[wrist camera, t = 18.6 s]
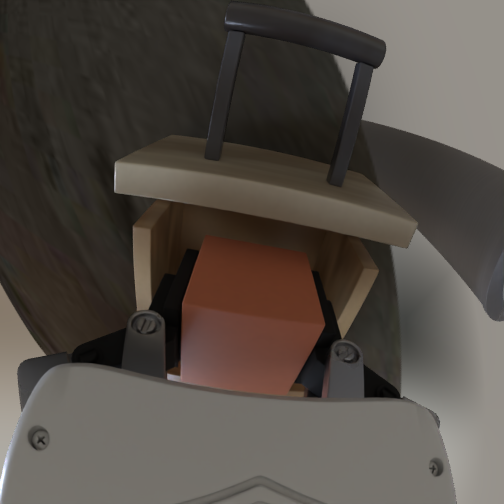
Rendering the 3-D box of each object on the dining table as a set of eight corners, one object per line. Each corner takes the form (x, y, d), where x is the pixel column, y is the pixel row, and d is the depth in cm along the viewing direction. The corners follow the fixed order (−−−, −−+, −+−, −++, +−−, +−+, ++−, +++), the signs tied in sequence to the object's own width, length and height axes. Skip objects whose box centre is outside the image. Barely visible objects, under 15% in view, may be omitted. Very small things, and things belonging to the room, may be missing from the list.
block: (196, 310, 14) (180, 381, 10) (205, 234, 12) (181, 303, 8) (281, 323, 14) (286, 395, 10) (306, 252, 12) (325, 324, 8)
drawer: (191, 26, 11) (145, -18, 5) (389, 72, 12) (464, 66, 6) (162, 310, 21) (136, 382, 15) (300, 333, 22) (310, 407, 16)
